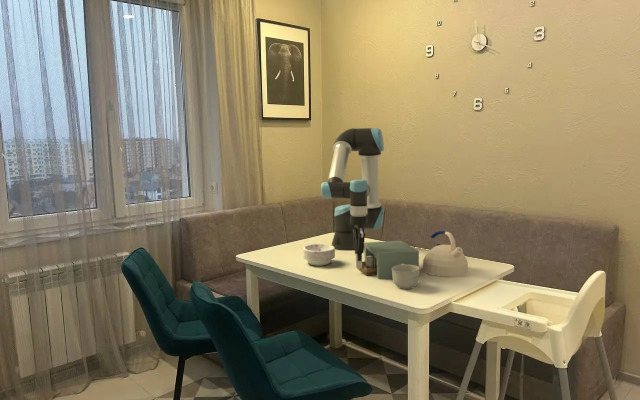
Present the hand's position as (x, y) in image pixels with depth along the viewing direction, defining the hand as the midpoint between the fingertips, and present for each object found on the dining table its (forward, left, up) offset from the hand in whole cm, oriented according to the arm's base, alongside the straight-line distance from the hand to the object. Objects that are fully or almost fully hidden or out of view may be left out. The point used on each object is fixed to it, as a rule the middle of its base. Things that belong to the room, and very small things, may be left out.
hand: (358, 267), depth 213 cm
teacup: (+22, +14, -3) cm, 26 cm away
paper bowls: (-20, -14, -3) cm, 25 cm away
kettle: (+5, +39, -3) cm, 39 cm away
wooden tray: (-1, +10, -3) cm, 10 cm away
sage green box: (0, +15, -2) cm, 15 cm away
